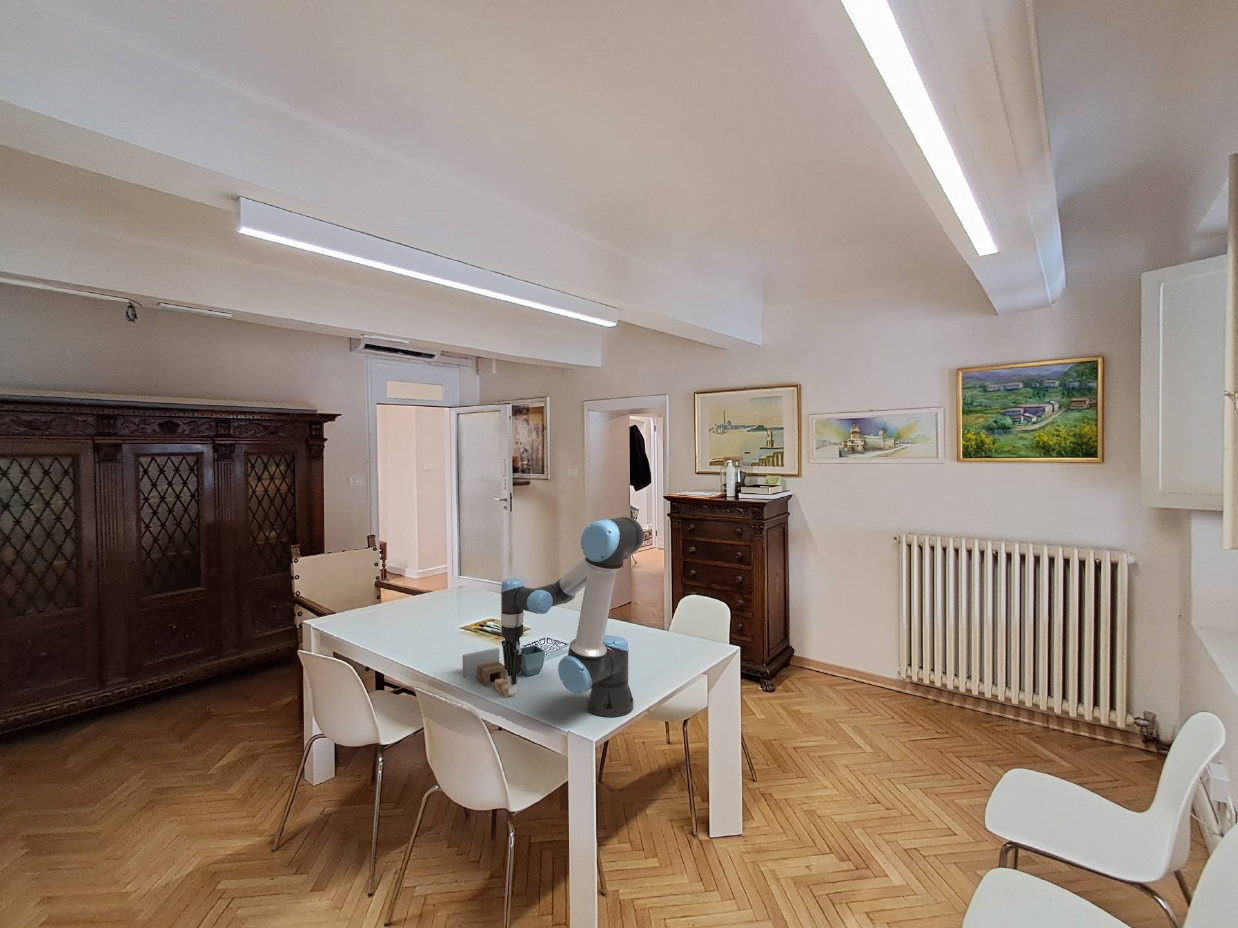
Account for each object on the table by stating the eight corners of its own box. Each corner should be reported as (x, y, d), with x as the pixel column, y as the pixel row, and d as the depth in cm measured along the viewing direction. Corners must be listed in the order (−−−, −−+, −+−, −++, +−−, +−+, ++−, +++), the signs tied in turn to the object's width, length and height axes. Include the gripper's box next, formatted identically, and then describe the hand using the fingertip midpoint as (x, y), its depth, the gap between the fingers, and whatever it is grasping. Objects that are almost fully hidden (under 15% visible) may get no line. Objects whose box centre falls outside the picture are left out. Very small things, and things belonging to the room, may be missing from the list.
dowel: (514, 695, 198) (514, 686, 198) (506, 697, 196) (506, 688, 196) (502, 686, 206) (502, 678, 206) (494, 688, 205) (494, 679, 205)
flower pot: (524, 679, 212) (524, 655, 212) (514, 672, 219) (514, 649, 219) (545, 674, 217) (545, 650, 217) (534, 667, 224) (534, 644, 224)
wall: (499, 669, 222) (499, 649, 222) (464, 677, 214) (464, 656, 214) (497, 668, 224) (497, 647, 224) (462, 675, 216) (462, 654, 216)
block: (505, 681, 210) (505, 666, 210) (484, 686, 206) (484, 670, 206) (496, 674, 217) (496, 660, 217) (476, 679, 212) (476, 664, 212)
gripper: (530, 627, 193) (530, 696, 193) (514, 618, 203) (514, 684, 203) (510, 630, 188) (510, 701, 188) (494, 621, 199) (494, 689, 199)
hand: (512, 692), depth 196 cm, fingers closed
